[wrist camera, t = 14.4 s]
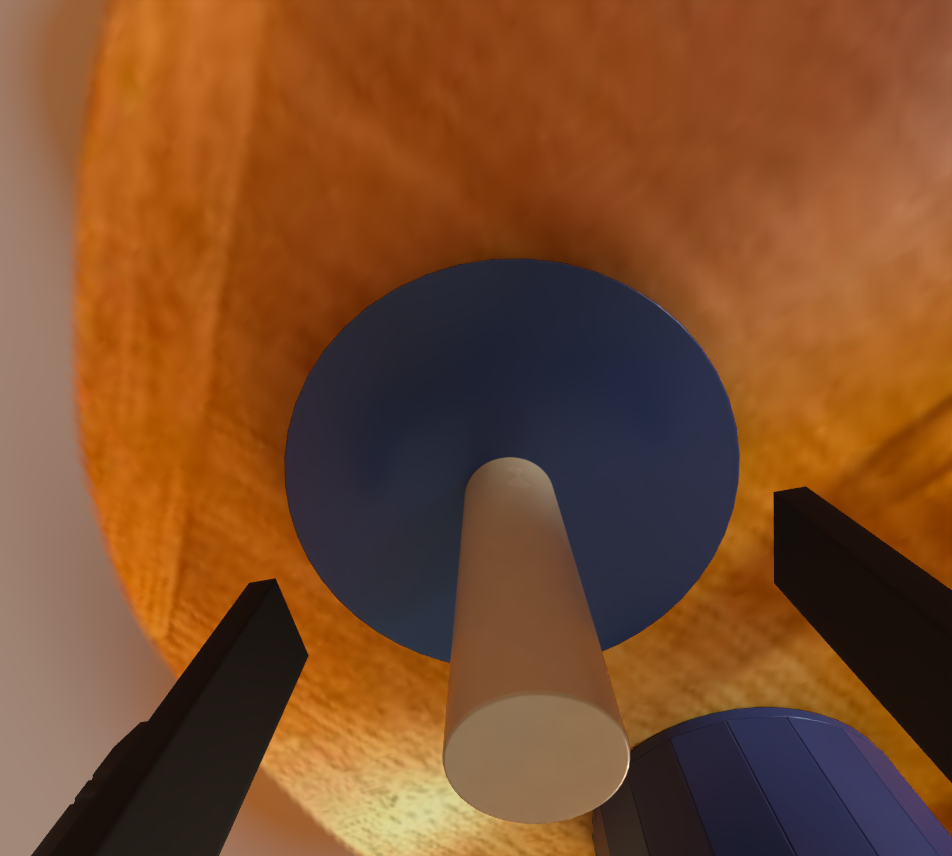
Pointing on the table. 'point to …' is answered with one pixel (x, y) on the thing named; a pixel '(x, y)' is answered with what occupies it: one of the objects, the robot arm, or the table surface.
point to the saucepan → (765, 793)
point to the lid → (515, 505)
